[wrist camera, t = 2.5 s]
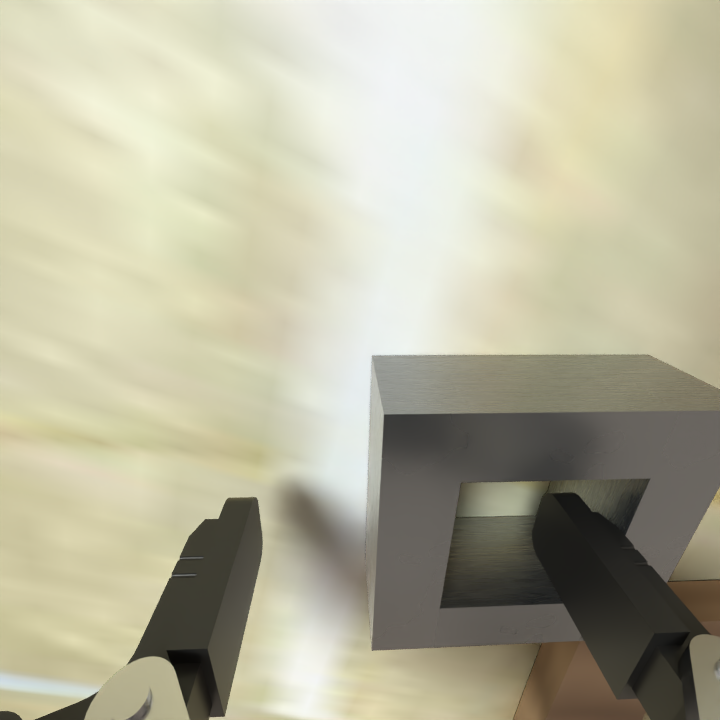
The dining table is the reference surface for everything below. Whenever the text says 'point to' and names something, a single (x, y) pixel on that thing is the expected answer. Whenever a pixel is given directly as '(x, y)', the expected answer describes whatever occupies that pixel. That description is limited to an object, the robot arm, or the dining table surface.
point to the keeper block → (584, 678)
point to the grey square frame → (521, 463)
